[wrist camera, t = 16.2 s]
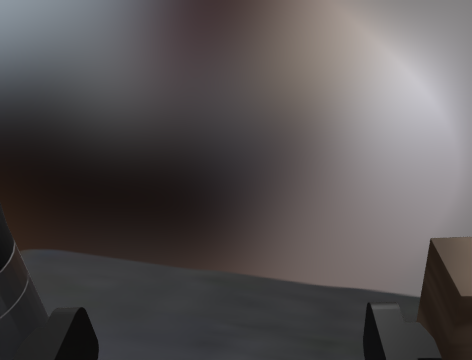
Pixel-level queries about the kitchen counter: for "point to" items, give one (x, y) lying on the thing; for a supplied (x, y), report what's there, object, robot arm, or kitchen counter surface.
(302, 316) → the kitchen counter surface
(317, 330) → the kitchen counter surface
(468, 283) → the brown rectangular block
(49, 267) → the kitchen counter surface
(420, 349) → the robot arm
